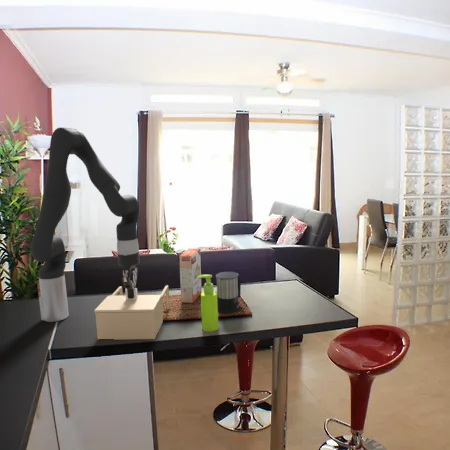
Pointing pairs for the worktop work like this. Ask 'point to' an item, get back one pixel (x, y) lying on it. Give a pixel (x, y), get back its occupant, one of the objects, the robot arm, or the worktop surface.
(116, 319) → the open wooden box
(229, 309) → the milk frother
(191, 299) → the cracker box
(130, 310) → the wooden box lid
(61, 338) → the worktop surface
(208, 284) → the soap dispenser
